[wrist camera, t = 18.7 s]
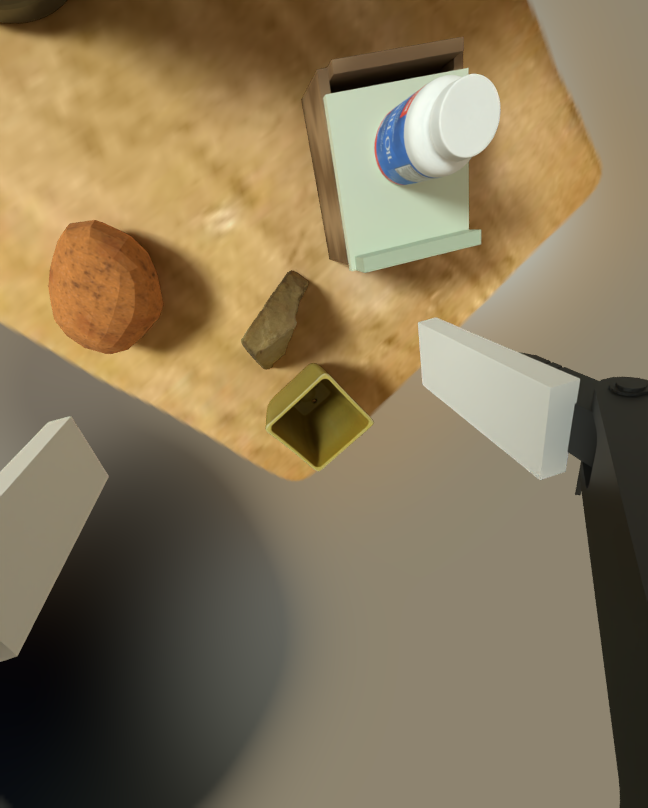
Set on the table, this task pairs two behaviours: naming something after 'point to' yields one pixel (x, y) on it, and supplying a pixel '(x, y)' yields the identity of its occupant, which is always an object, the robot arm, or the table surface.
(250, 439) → the table surface
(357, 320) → the table surface
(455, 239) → the lid
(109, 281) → the potato
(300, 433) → the flower pot
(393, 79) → the box
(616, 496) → the robot arm
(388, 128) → the pill bottle
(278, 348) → the rock
